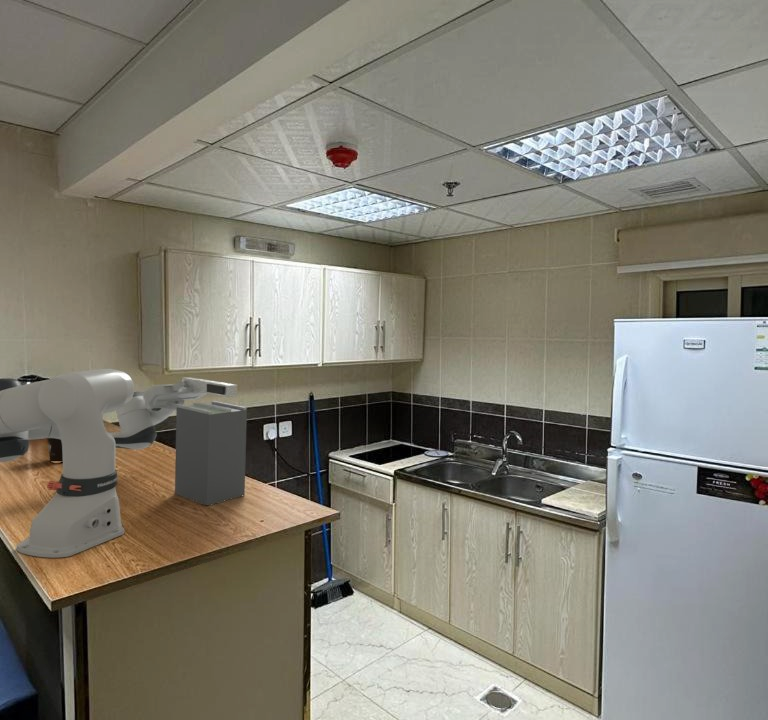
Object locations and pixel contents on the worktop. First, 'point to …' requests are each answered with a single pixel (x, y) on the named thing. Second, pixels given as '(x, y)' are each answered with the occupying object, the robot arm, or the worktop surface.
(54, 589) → the worktop surface
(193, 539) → the worktop surface
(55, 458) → the coffee mug
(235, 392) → the brushed metal post
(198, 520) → the worktop surface
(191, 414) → the tall grey pillar
